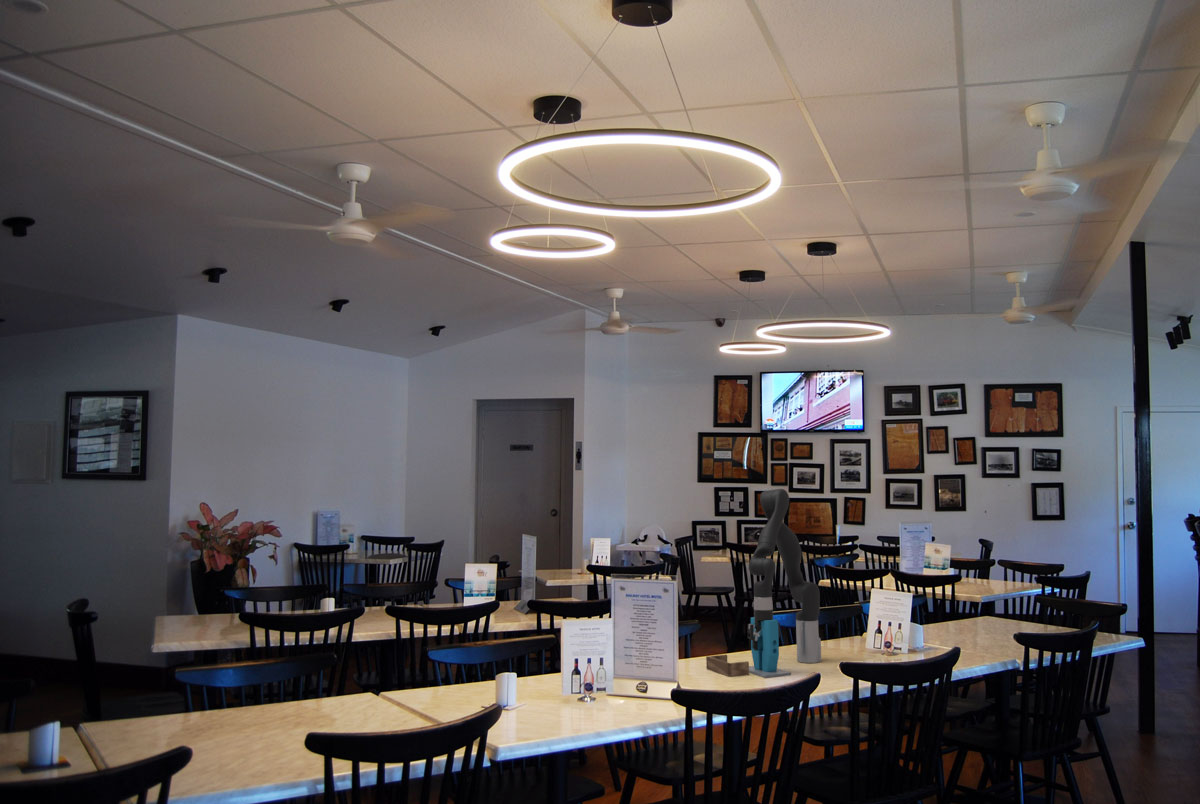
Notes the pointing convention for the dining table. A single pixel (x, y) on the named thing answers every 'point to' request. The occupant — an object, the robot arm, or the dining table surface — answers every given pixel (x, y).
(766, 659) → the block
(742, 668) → the walnut stall
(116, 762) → the dining table surface
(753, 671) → the slate pad
